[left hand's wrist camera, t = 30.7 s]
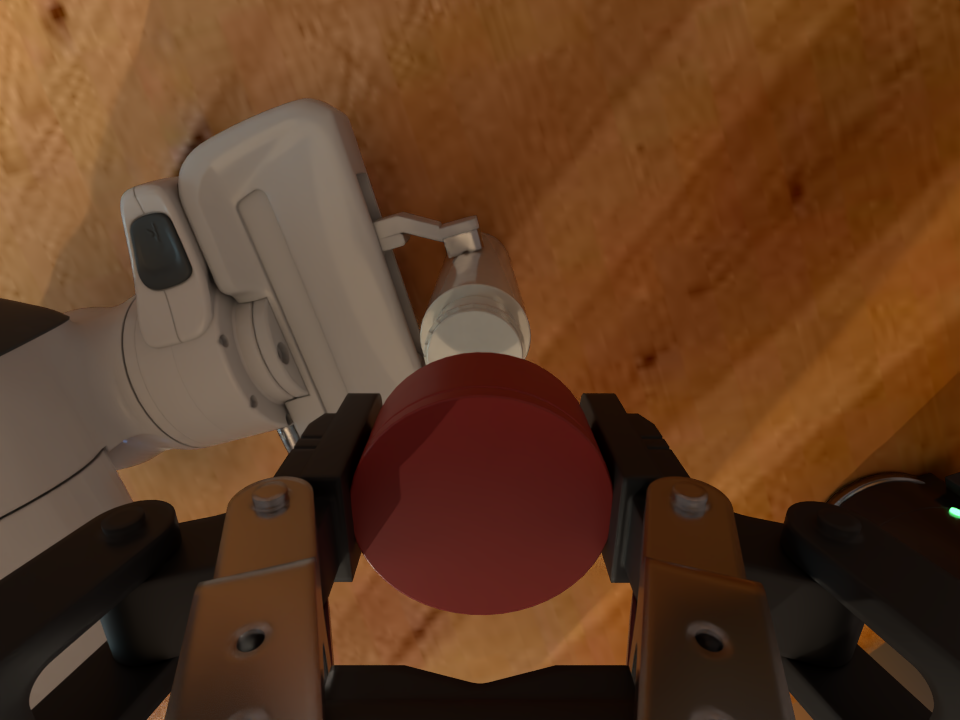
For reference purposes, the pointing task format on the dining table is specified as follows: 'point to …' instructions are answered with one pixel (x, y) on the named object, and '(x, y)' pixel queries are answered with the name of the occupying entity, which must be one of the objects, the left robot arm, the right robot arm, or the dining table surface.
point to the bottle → (476, 307)
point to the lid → (481, 487)
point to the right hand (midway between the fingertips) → (494, 283)
